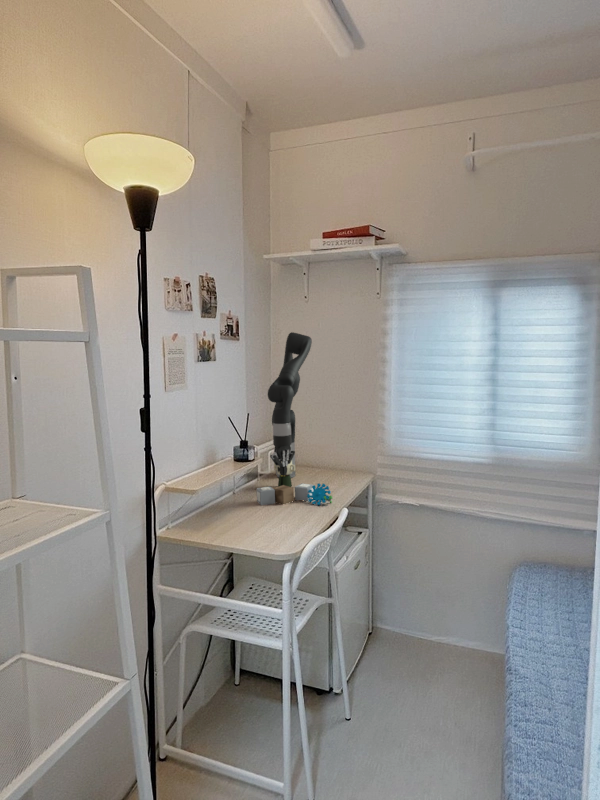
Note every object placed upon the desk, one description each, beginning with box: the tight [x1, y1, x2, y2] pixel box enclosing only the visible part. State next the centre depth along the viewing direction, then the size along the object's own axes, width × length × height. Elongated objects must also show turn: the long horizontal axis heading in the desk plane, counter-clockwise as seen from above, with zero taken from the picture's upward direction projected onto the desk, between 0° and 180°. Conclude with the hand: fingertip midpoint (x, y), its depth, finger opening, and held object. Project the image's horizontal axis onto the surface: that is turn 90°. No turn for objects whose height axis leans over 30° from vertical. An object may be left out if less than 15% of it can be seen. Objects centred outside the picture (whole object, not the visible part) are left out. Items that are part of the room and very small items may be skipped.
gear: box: [307, 483, 333, 506], centre depth 220 cm, size 11×6×10 cm
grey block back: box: [294, 483, 315, 502], centre depth 225 cm, size 6×6×6 cm
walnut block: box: [272, 485, 295, 505], centre depth 222 cm, size 6×6×6 cm
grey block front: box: [256, 486, 276, 506], centre depth 222 cm, size 6×6×6 cm
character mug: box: [273, 461, 296, 487], centre depth 243 cm, size 11×7×13 cm, turn 63°
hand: (283, 474), depth 221 cm, fingers closed
